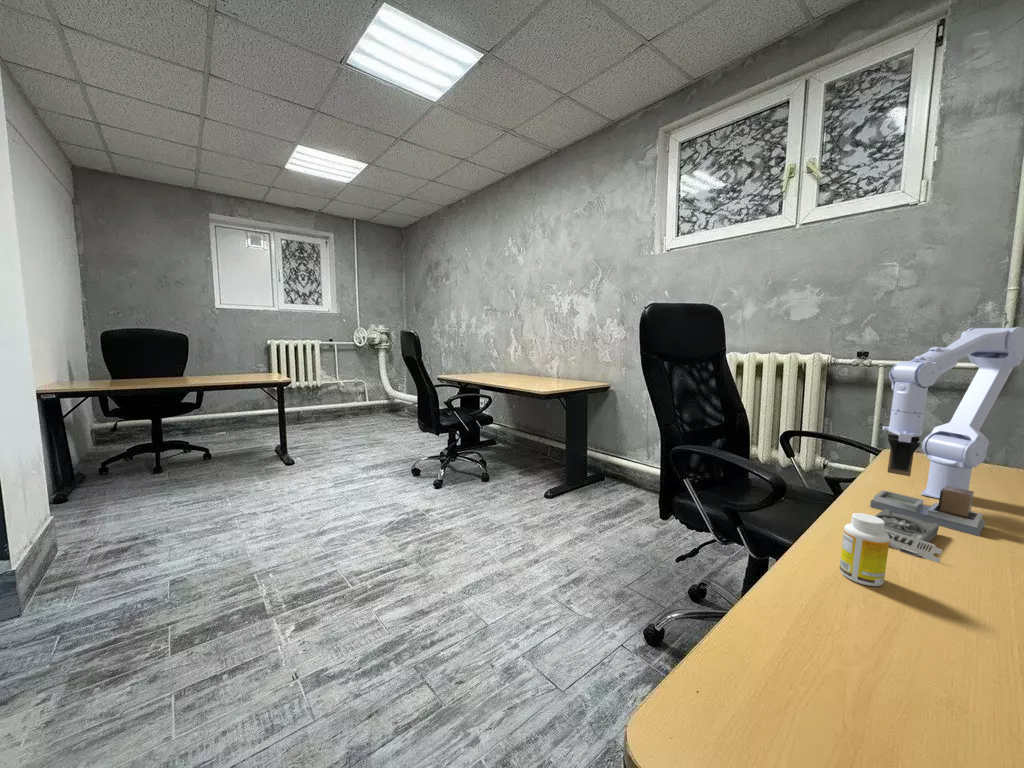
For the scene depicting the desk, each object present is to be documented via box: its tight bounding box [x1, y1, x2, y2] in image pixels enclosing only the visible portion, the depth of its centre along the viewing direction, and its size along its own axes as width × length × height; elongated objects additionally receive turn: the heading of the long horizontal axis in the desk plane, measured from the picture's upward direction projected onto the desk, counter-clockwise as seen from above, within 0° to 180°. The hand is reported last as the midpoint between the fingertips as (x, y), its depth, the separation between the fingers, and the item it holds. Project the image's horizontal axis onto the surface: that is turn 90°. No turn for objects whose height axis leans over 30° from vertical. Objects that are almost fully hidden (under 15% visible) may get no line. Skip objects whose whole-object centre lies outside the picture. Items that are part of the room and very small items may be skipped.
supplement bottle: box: [839, 512, 890, 587], centre depth 66 cm, size 6×6×10 cm
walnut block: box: [887, 448, 915, 477], centre depth 99 cm, size 4×4×6 cm
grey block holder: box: [869, 486, 986, 537], centre depth 91 cm, size 8×17×8 cm, turn 36°
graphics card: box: [874, 509, 943, 564], centre depth 80 cm, size 17×4×12 cm
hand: (899, 466), depth 99 cm, fingers closed on walnut block, 4 cm apart
